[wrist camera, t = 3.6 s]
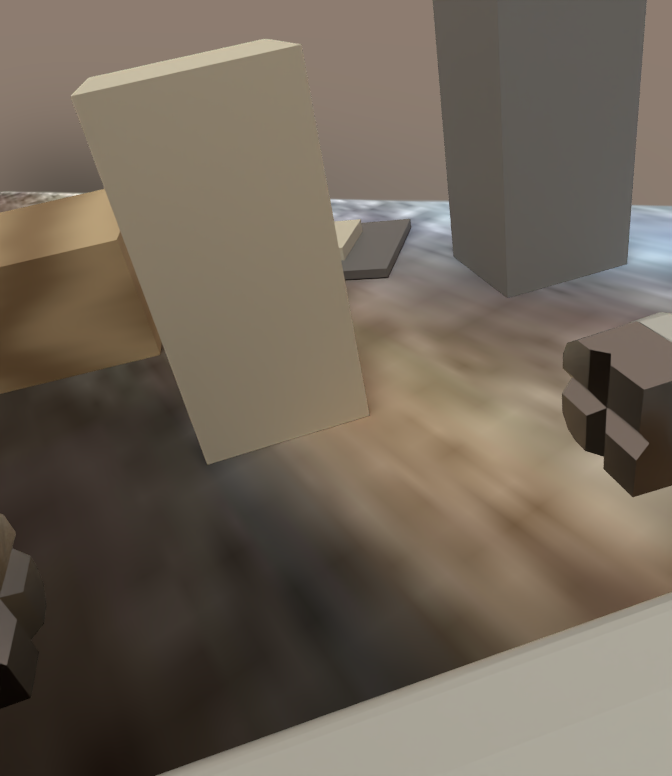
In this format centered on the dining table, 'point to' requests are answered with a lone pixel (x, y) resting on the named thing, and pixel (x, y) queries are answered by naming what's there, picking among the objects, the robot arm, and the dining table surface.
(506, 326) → the dining table surface
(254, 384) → the cream block
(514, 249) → the grey block
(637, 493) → the robot arm
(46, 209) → the oak pedestal
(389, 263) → the card
